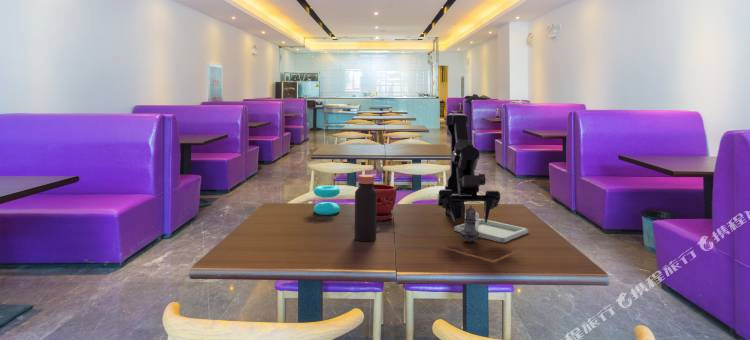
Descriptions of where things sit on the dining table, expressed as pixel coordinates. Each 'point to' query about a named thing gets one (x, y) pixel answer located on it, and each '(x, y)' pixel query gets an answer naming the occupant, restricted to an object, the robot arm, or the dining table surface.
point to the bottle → (365, 209)
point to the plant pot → (385, 201)
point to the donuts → (326, 207)
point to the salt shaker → (469, 227)
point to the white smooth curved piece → (475, 219)
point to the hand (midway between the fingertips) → (470, 221)
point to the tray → (496, 230)
